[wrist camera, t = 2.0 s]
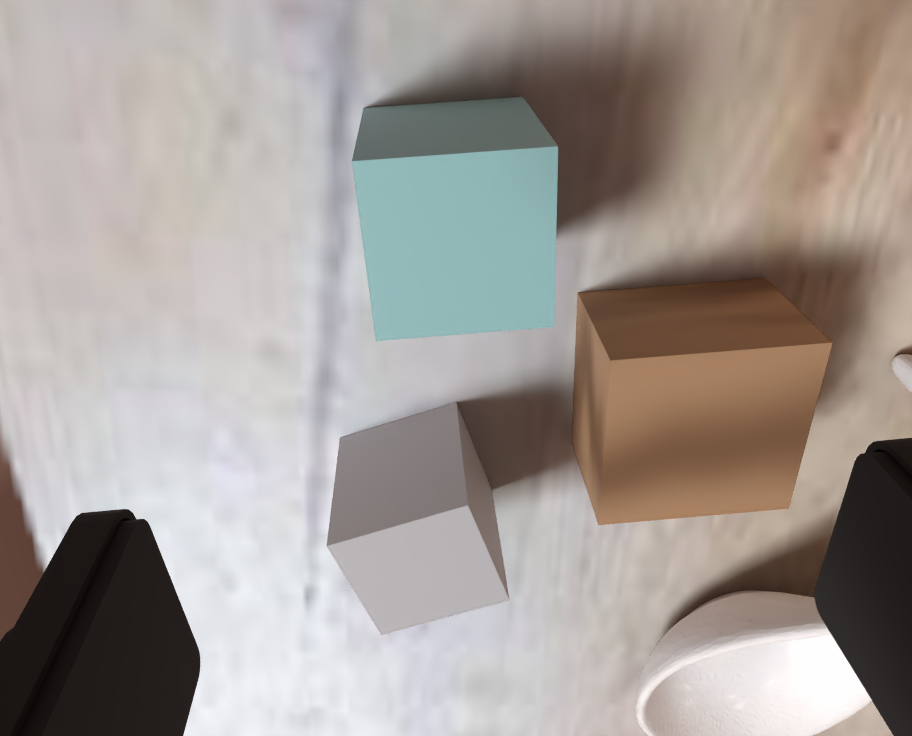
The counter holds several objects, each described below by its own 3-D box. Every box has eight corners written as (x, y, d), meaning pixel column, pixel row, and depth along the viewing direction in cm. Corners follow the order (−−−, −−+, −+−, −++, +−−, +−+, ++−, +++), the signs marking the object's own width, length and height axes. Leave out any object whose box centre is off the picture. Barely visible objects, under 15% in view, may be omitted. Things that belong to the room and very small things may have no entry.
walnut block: (576, 290, 26) (610, 360, 22) (763, 275, 26) (832, 342, 22) (570, 440, 30) (598, 524, 25) (734, 426, 30) (788, 508, 26)
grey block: (340, 437, 29) (326, 546, 24) (456, 401, 28) (467, 505, 23) (384, 520, 31) (381, 635, 26) (491, 489, 31) (509, 600, 26)
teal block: (364, 107, 22) (351, 161, 17) (522, 96, 22) (557, 146, 17) (381, 256, 25) (375, 340, 20) (523, 245, 25) (554, 326, 20)
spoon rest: (768, 708, 41) (830, 842, 35) (585, 685, 39) (618, 824, 33) (1046, 383, 30) (1211, 499, 24) (809, 322, 27) (924, 434, 21)
